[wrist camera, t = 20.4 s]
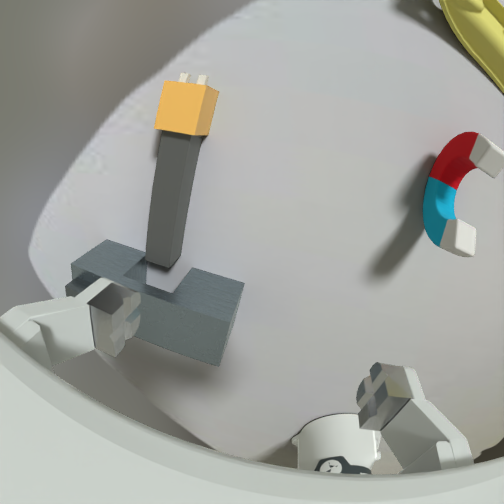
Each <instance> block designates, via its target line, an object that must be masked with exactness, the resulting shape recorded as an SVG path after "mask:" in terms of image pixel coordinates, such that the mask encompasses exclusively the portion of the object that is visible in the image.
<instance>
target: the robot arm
mask: <svg viewBox="0 0 504 504" xmlns="http://www.w3.org/2000/svg"><path fill="white" fill-rule="evenodd" d="M140 303H141V295H140V294H139V292H137V291H135V290H132V289H130V288H128V287H125V286H123V285H121V284H118V283H116V282H114V281H111V280H109V279H107V278H99V279H98V280H97V281H95V282H94V283H93V284H91V285H90V286H89V287H87V288H86V289H85V290H84V291H82V292H81V293H80V294H78V295H77V296H76V297H72V296H69V297H63V298H58V299H53V300H47V301H42V302H36V303H31V304H25V305H20V306H15V307H13V308H12V309H10V310H9V311H8V312H6V313H5V314H4V315H2V316H1V317H0V504H504V457H501V458H497V459H494V460H490V461H486V462H482V463H478V464H474V462H473V458H472V455H471V451H470V448H469V445H468V442H467V439H466V438H465V437H464V435H463V434H462V433H461V432H460V431H459V430H458V429H457V428H456V427H455V426H454V425H453V424H452V423H451V422H450V421H449V420H448V419H447V418H446V417H445V416H444V415H443V414H442V413H441V412H440V411H439V410H438V409H437V408H436V407H435V406H434V405H433V404H432V403H431V402H430V401H428V400H425V397H424V394H423V391H422V388H421V385H420V382H419V379H418V377H417V374H416V371H415V370H414V369H413V368H411V367H404V366H395V365H390V364H384V363H379V362H376V363H375V364H374V365H373V366H372V368H371V369H370V376H368V377H366V378H364V379H363V381H362V382H361V384H360V385H359V388H358V391H357V397H356V400H357V405H358V406H359V407H360V408H361V411H360V412H359V413H358V415H356V414H337V415H331V416H326V417H322V418H319V419H317V420H314V421H312V422H310V423H309V424H307V425H306V426H305V427H304V428H303V429H302V431H301V432H300V433H299V434H298V435H296V436H295V437H293V438H292V444H293V445H295V446H296V447H297V448H298V469H295V468H289V467H283V466H277V465H272V464H267V463H262V462H258V461H253V460H249V459H245V458H240V457H237V456H233V455H229V454H225V453H222V452H218V451H215V450H211V449H209V448H205V447H202V446H199V445H196V444H193V443H190V442H188V441H185V440H182V439H179V438H177V437H174V436H171V435H169V434H166V433H164V432H161V431H159V430H156V429H154V428H152V427H149V426H147V425H145V424H142V423H140V422H138V421H136V420H134V419H131V418H130V417H128V416H126V415H124V414H121V413H120V412H117V411H116V410H114V409H112V408H110V407H108V406H106V405H104V404H102V403H100V402H99V401H97V400H95V399H93V398H92V397H90V396H88V395H86V394H85V393H83V392H81V391H80V390H78V389H76V388H75V387H73V386H72V385H70V384H69V383H67V382H65V381H64V380H62V379H61V378H59V377H58V376H57V375H55V372H54V370H53V367H52V366H54V365H57V364H59V363H62V362H64V361H66V360H69V359H72V358H74V357H76V356H79V355H82V354H84V353H86V352H89V351H91V350H94V349H95V348H96V349H98V350H100V351H103V352H105V353H107V354H109V355H111V356H113V357H115V358H116V356H117V355H118V354H119V353H120V351H121V350H122V349H123V348H124V347H125V340H127V339H130V338H132V337H133V336H134V334H135V333H136V331H137V329H138V326H139V323H140V312H139V310H138V308H137V306H138V305H139V304H140ZM381 435H382V436H383V438H384V439H385V441H386V442H387V444H388V446H389V447H390V449H391V450H392V452H393V453H394V455H395V457H396V458H397V460H398V461H399V463H400V464H401V466H402V468H403V470H402V471H400V472H399V473H398V474H371V468H372V466H373V464H374V462H375V461H376V460H380V458H381V455H380V450H378V448H379V444H380V439H381Z"/></svg>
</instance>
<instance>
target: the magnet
mask: <svg viewBox="0 0 504 504" xmlns="http://www.w3.org/2000/svg"><path fill="white" fill-rule="evenodd" d="M503 167H504V151H503V150H501V149H500V148H499V147H498V146H496V145H495V144H494V143H492V142H491V141H490V140H488V139H487V138H486V137H484V136H483V135H481V134H479V133H475V132H464V133H462V134H459V135H457V136H456V137H454V138H453V139H452V140H450V142H449V143H448V144H447V145H446V146H445V147H444V148H443V150H442V151H441V153H440V154H439V156H438V158H437V159H436V161H435V163H434V165H433V168H432V170H431V173H430V175H429V178H428V182H427V185H426V189H425V195H424V201H423V221H424V226H425V230H426V232H427V234H428V237H429V238H430V239H431V240H432V242H433V243H434V244H435V245H437V246H438V247H440V248H442V249H444V250H447V251H449V252H451V253H453V254H456V255H458V256H462V257H473V256H474V255H475V243H476V228H474V227H473V226H471V225H469V224H467V223H465V222H463V221H461V220H460V219H456V218H455V214H454V200H455V195H456V191H457V188H458V186H459V184H460V182H461V180H462V179H463V177H464V176H465V175H466V174H467V173H468V172H469V171H471V170H473V169H475V168H479V169H481V170H482V171H483V172H485V173H486V174H488V175H489V176H491V177H492V178H495V177H496V176H497V175H498V174H499V172H500V171H501V170H502V169H503Z"/></svg>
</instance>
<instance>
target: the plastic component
mask: <svg viewBox="0 0 504 504" xmlns="http://www.w3.org/2000/svg"><path fill="white" fill-rule="evenodd" d="M439 2H440V5H441V8H442V10H443V13H444V15H445V17H446V19H447V21H448V23H449V25H450V27H451V29H452V30H453V32H454V33H455V35H456V36H457V38H458V40H459V41H460V42H461V44H462V45H463V46H464V48H465V49H466V50H467V51H468V53H469V54H470V55H471V56H472V57H473V58H474V59H475V60H476V61H477V62H478V63H479V65H480V66H481V67H482V68H483V69H484V70H485V71H486V72H487V74H488V75H489V76H490V77H491V78H492V80H493V81H494V82H495V83H496V84H497V86H498V87H499V88H500V90H501V91H502V92H503V93H504V7H503V6H502V5H501V4H500V3H499V1H498V0H439Z"/></svg>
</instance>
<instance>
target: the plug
mask: <svg viewBox="0 0 504 504" xmlns="http://www.w3.org/2000/svg"><path fill="white" fill-rule="evenodd" d="M190 76H191V75H190V74H188V73H181V74H180V78H179V82H175V81H165V82H164V86H163V90H162V94H161V98H160V103H159V107H158V112H157V116H156V121H155V126H154V129H161V130H163V131H162V136H161V141H160V146H159V152H158V157H157V163H156V170H155V176H154V183H153V190H152V197H151V205H150V213H149V222H148V232H147V243H146V255H145V260H147V261H149V262H152V263H155V264H158V265H161V266H164V267H167V268H170V267H171V266H172V265H173V263H174V262H175V261H176V260H177V259H178V258H179V257H180V256H181V250H182V243H183V237H184V231H185V224H186V219H187V213H188V207H189V201H190V196H191V190H192V185H193V180H194V175H195V170H196V165H197V160H198V155H199V151H200V146H201V142H202V137H203V135H208V134H209V130H210V126H211V122H212V118H213V114H214V110H215V106H216V102H217V98H218V94H219V91H217V90H215V89H213V88H211V87H209V86H207V83H208V79H209V77H208V76H206V75H199V77H198V80H197V84H193V83H189V80H190Z"/></svg>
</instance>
